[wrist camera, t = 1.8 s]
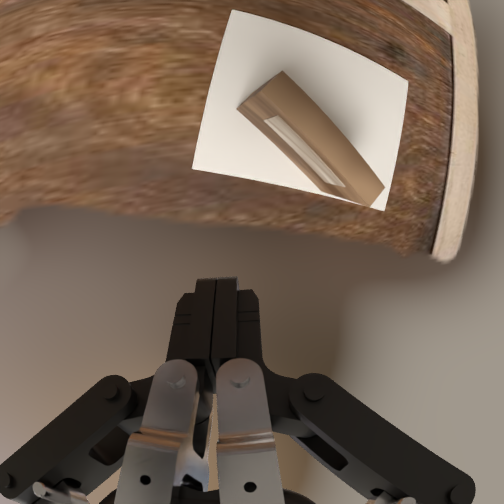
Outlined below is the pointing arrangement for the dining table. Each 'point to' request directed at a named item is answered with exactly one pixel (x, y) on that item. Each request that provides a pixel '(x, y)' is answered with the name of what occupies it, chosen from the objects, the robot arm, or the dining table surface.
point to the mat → (314, 85)
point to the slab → (311, 140)
